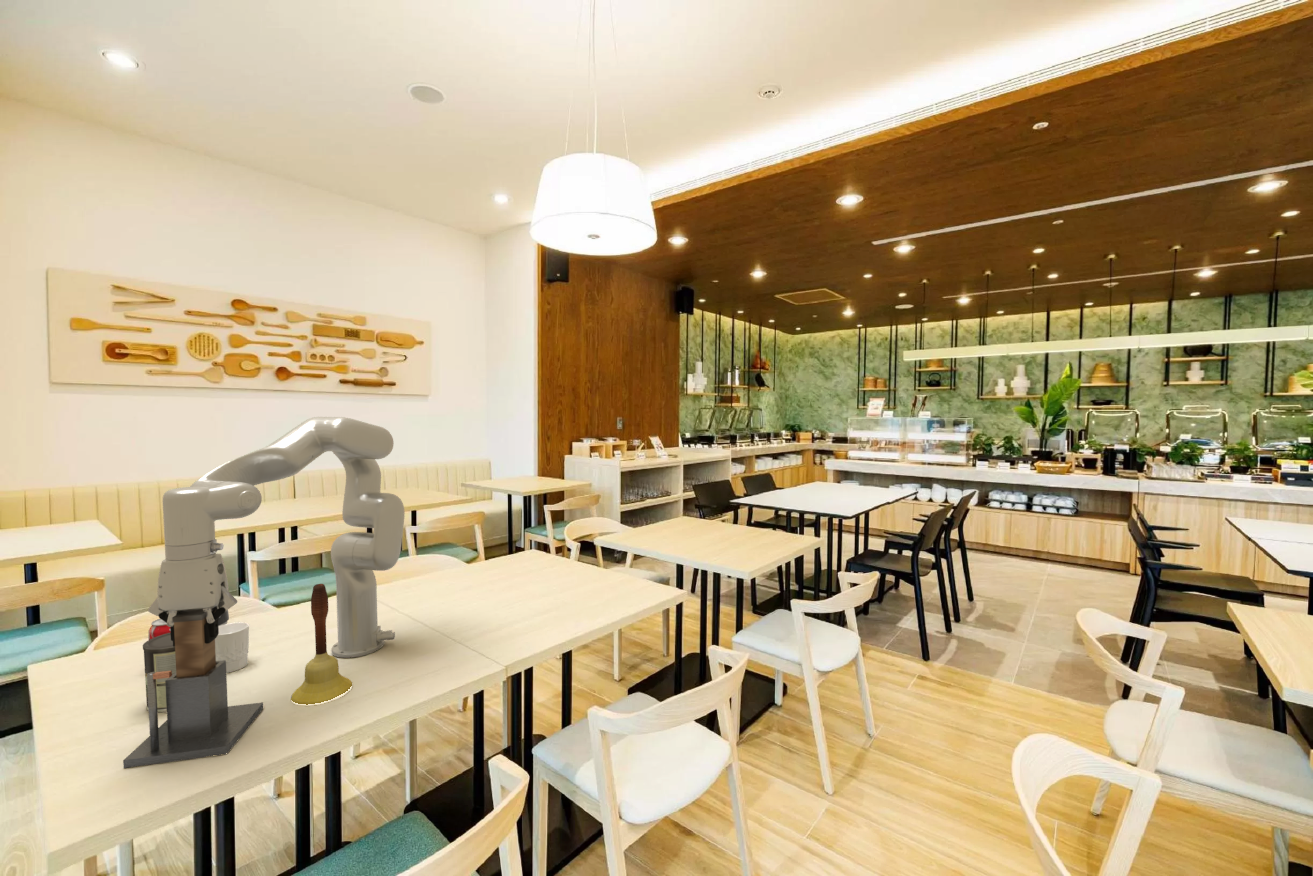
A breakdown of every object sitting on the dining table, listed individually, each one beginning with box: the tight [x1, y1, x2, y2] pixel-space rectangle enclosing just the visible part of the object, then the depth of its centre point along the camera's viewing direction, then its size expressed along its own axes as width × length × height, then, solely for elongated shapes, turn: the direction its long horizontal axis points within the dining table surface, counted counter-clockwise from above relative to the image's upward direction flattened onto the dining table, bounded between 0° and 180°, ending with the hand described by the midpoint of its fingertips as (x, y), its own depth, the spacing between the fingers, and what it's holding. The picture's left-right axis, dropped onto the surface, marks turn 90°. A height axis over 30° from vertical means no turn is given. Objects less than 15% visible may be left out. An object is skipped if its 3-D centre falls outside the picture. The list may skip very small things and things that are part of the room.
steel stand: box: [122, 660, 264, 769], centre depth 109 cm, size 16×16×16 cm
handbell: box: [290, 583, 353, 705], centre depth 126 cm, size 12×12×25 cm
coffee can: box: [142, 633, 176, 713], centre depth 122 cm, size 10×10×14 cm
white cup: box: [215, 621, 250, 674], centre depth 138 cm, size 8×8×10 cm
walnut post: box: [172, 609, 216, 678], centre depth 109 cm, size 5×5×19 cm
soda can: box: [147, 618, 171, 641], centre depth 138 cm, size 7×7×12 cm
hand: (195, 641), depth 108 cm, fingers closed on walnut post, 4 cm apart
